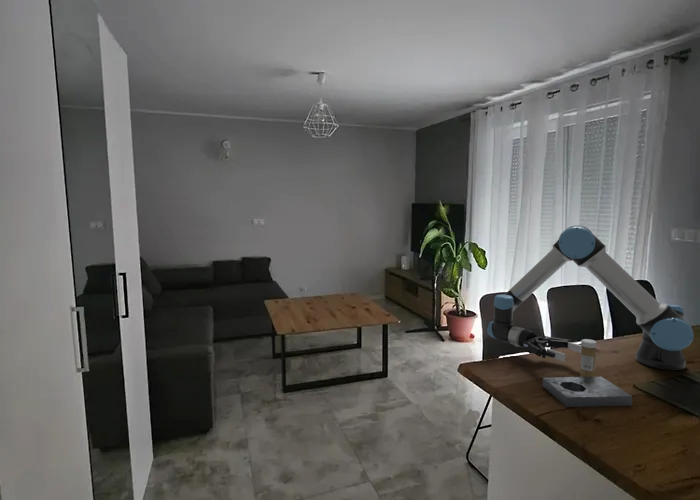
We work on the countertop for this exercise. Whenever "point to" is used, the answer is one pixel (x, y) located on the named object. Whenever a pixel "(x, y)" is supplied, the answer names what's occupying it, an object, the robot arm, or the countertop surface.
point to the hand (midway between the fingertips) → (575, 354)
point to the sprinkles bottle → (588, 358)
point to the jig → (586, 391)
